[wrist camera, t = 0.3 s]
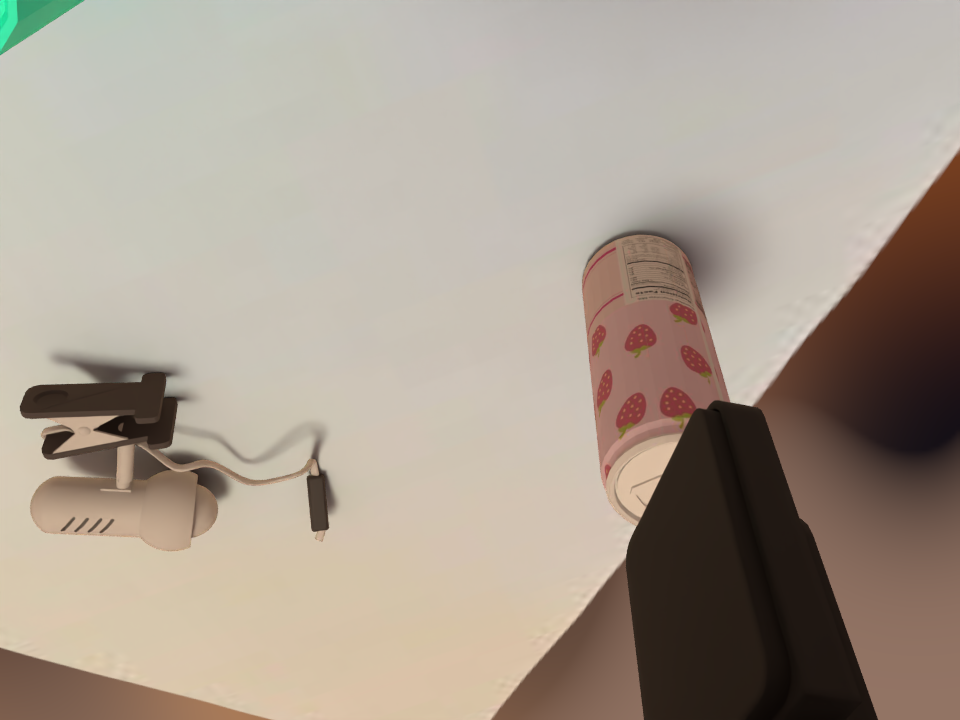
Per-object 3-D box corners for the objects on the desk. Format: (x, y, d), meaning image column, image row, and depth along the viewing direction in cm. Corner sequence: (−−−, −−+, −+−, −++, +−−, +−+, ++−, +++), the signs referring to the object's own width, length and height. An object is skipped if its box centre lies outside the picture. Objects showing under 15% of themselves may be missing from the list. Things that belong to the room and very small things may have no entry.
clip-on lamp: (347, 383, 53) (32, 355, 47) (355, 450, 48) (4, 426, 42) (319, 515, 59) (38, 504, 54) (323, 586, 54) (13, 581, 48)
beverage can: (560, 293, 44) (572, 504, 33) (624, 211, 41) (662, 412, 29) (647, 338, 46) (688, 555, 34) (714, 263, 43) (784, 473, 31)
